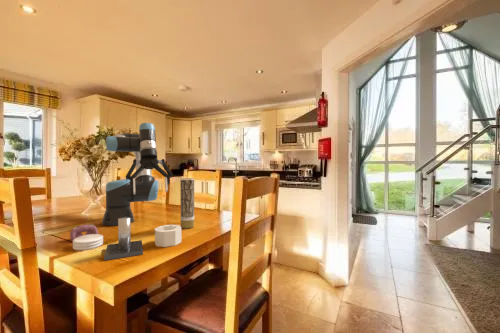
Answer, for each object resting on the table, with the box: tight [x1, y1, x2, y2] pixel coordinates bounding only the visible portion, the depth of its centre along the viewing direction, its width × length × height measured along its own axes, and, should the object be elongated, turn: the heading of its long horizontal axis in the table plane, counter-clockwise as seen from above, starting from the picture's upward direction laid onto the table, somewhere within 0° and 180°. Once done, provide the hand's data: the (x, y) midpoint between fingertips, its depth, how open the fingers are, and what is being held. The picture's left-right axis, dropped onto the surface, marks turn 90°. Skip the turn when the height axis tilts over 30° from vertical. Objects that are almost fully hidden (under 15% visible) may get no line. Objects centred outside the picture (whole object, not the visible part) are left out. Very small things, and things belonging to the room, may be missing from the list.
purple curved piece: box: [69, 224, 99, 243], centre depth 101 cm, size 10×5×7 cm, turn 135°
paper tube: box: [180, 177, 195, 229], centre depth 119 cm, size 7×7×25 cm
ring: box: [154, 224, 182, 248], centre depth 97 cm, size 10×10×6 cm
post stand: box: [103, 217, 144, 261], centre depth 87 cm, size 12×12×12 cm
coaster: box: [72, 233, 104, 251], centre depth 93 cm, size 10×10×4 cm
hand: (151, 192), depth 106 cm, fingers open, 13 cm apart
